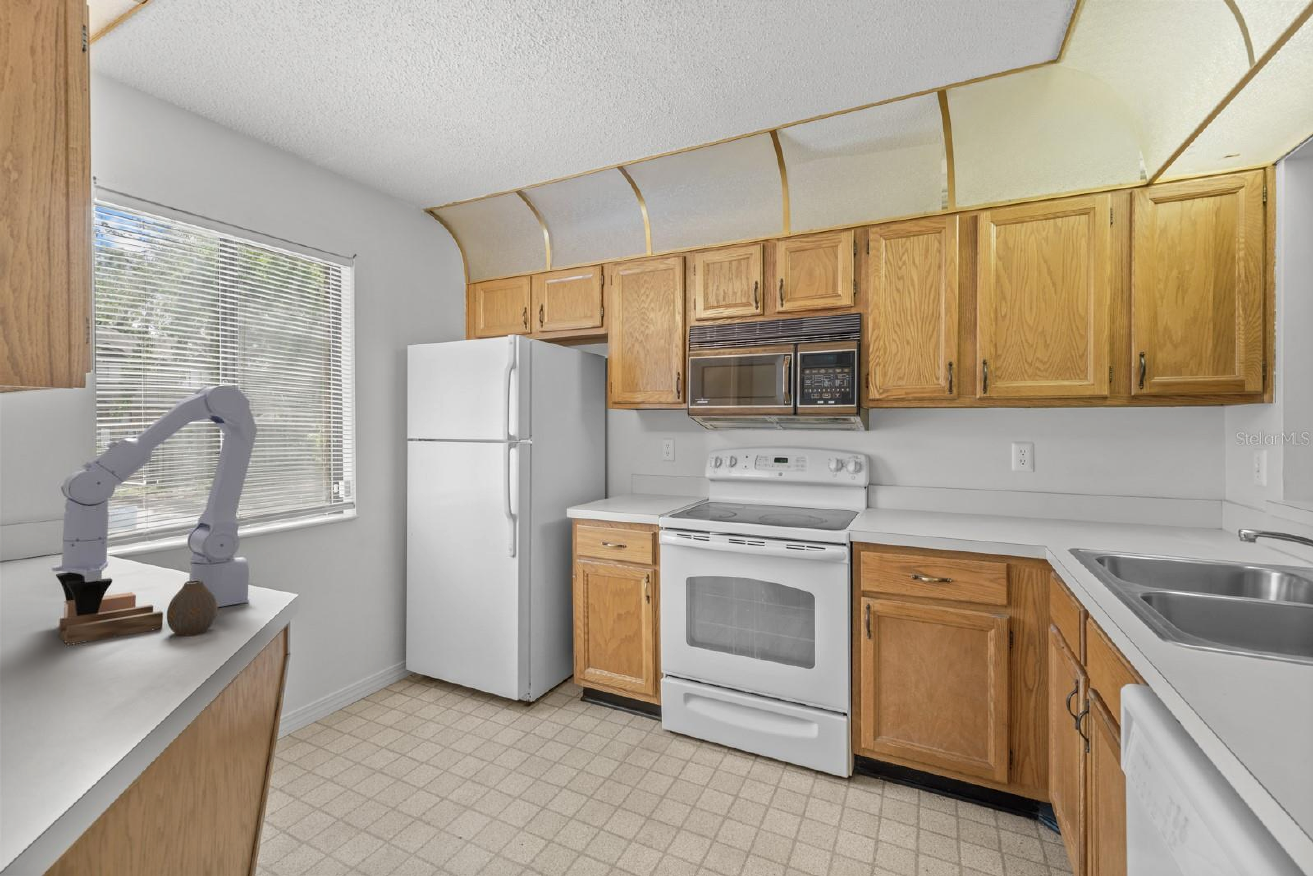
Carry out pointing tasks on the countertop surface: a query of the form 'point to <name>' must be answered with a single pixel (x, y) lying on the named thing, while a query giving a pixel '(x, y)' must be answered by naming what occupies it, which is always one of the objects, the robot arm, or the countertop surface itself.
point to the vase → (192, 609)
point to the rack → (109, 624)
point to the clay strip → (105, 604)
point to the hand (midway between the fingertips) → (82, 616)
